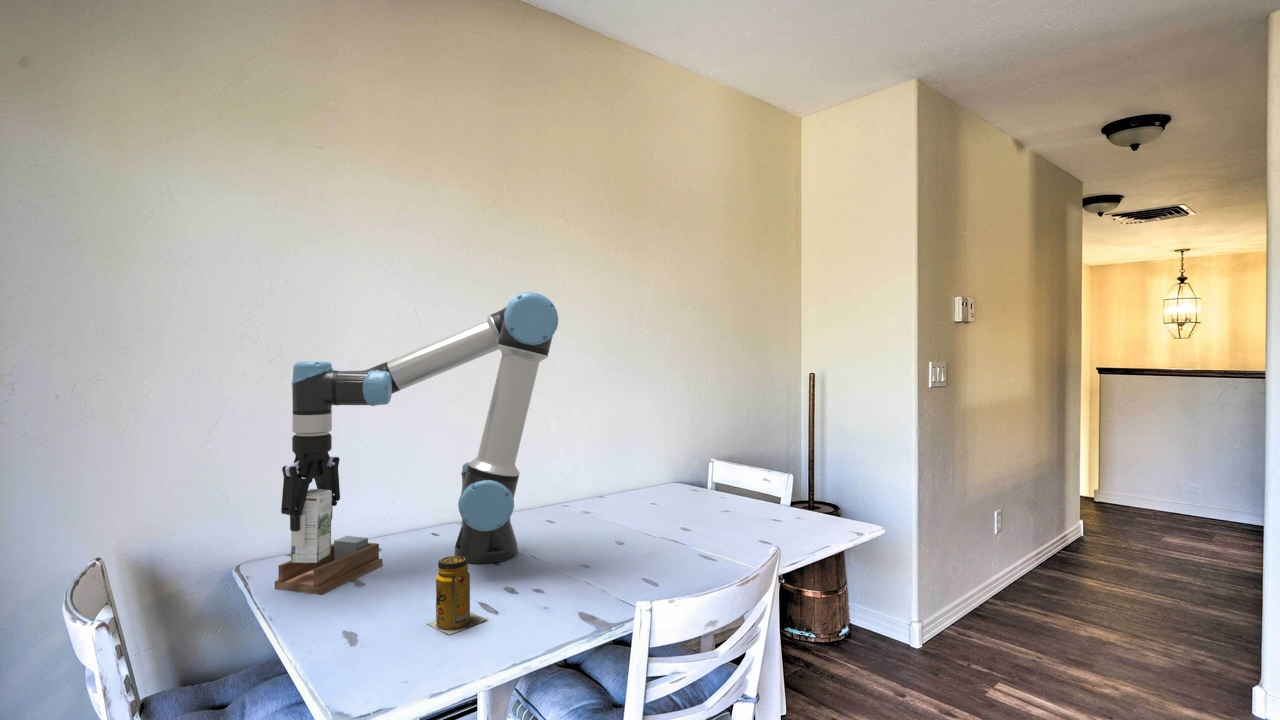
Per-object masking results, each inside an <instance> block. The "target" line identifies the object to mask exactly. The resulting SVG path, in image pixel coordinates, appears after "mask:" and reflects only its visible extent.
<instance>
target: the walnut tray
mask: <svg viewBox="0 0 1280 720" xmlns="http://www.w3.org/2000/svg"><path fill="white" fill-rule="evenodd" d="M382 566H383V558H380V544H379V543H378V542H377V543H376V542H368V547H365V548H363V549H361V550H358V551H356V552H354V553H351V554H349V555H347V556H344V557H342V558H340V559H337V560H335V561H334V543H331V554H330V555H329V556H327V557H326V558H324V559H322V560H321V561H319V562H318V563H293V562H291V560H289V561H286V562H284V563H281V564H278V567H277V568H278V569H277V570H278V579H277V580H275V581H274V589H277V590H283V591H284V590H285V591H290V592H297V593H298V592H299V593H305V594H314V595H321V596H322V595H324V594H326V593H328V592H331V591H332V590H334V589H336V588H338V587H341V586H343V585H345V584H347V583H349V582H351V581H353V580H355V579H357V578H359V577H361V576H363V575H365V574H367V573H369V572H372V571H373V570H376V569H378V568H380V567H382Z"/></svg>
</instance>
